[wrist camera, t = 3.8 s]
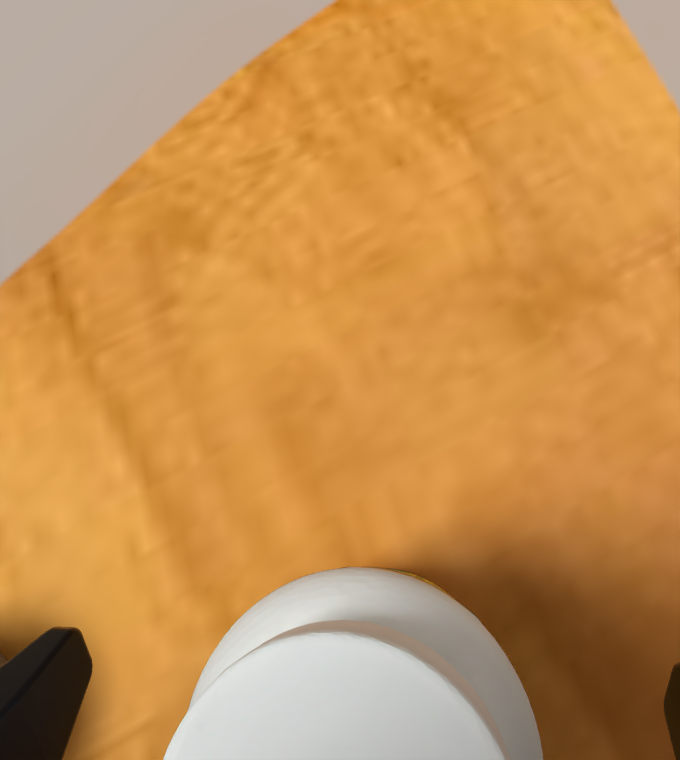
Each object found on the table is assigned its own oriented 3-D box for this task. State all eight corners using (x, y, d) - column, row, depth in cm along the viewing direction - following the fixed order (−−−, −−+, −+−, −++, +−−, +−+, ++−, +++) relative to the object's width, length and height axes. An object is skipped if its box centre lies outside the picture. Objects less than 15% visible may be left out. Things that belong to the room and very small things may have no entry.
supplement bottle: (239, 685, 15) (-22, 845, 6) (371, 525, 16) (306, 465, 7) (399, 857, 14) (353, 1398, 5) (537, 670, 15) (722, 831, 6)
